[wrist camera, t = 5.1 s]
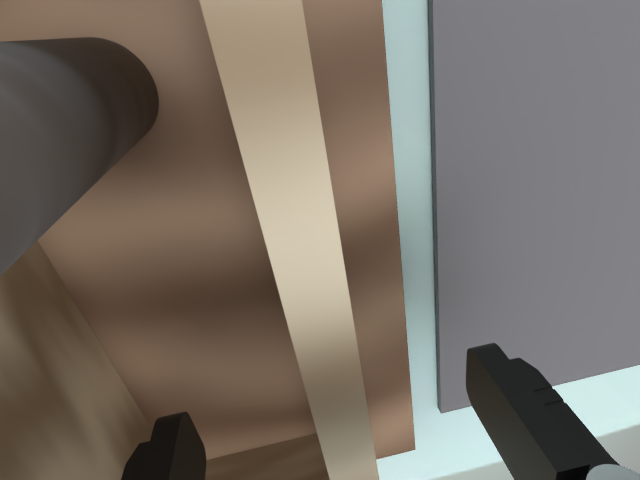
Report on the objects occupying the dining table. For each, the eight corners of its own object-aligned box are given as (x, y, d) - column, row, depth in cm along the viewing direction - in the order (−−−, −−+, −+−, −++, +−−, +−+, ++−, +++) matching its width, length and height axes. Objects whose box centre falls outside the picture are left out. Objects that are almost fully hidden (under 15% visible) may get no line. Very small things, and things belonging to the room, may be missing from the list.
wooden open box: (-238, -89, 9) (-957, -261, 4) (245, -170, 9) (234, -420, 4) (156, 490, 21) (123, 648, 15) (359, 440, 21) (394, 576, 16)
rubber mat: (416, -496, 8) (422, -517, 8) (1035, -575, 9) (1066, -598, 9) (438, 407, 23) (440, 413, 23) (675, 349, 24) (681, 354, 23)
